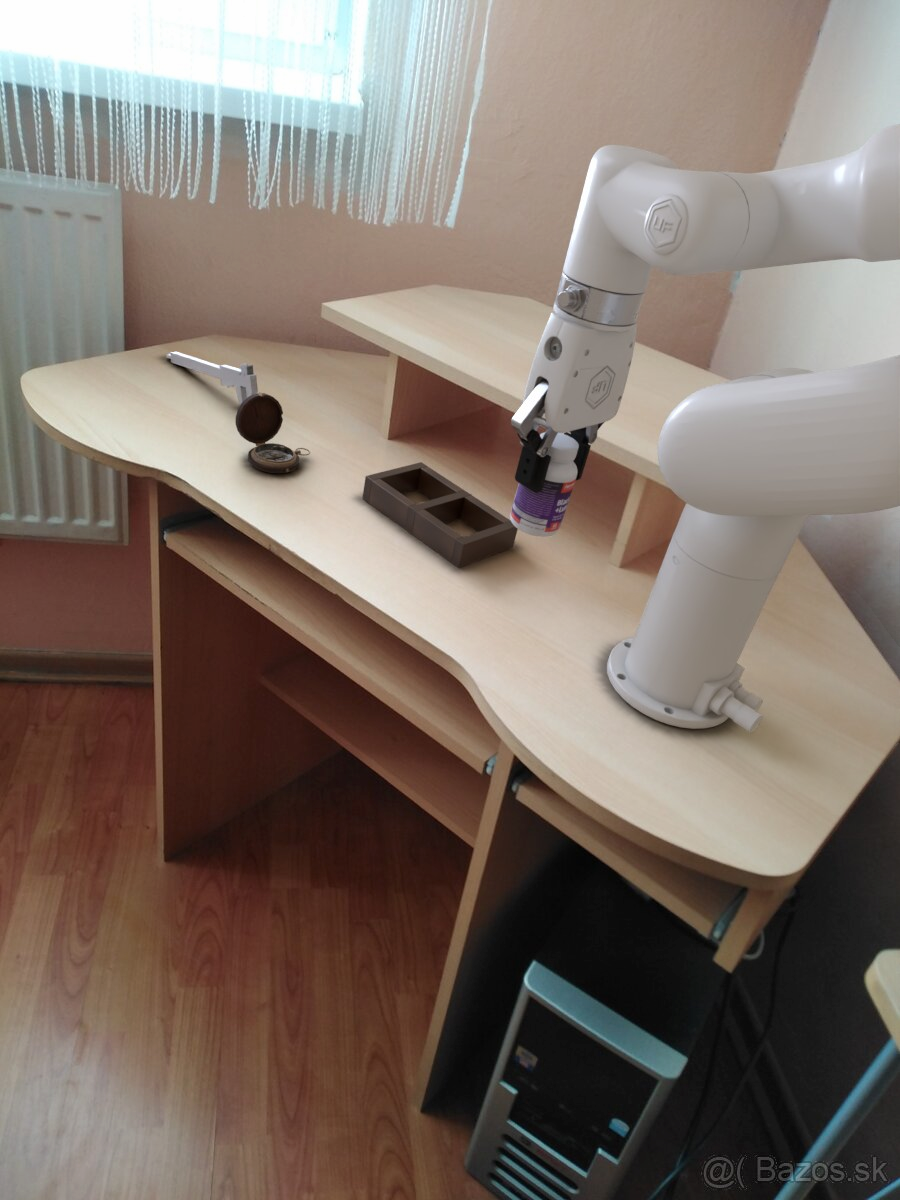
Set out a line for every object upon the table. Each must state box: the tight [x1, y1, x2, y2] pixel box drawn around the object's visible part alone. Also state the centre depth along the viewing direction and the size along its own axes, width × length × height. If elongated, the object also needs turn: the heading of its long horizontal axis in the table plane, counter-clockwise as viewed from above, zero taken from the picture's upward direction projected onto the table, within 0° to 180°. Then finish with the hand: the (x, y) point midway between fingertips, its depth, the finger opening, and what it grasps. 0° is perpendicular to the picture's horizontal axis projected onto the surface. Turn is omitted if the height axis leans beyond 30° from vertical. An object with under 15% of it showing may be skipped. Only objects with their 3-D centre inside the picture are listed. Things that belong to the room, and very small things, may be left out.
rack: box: [362, 461, 519, 569], centre depth 103 cm, size 17×9×3 cm, turn 44°
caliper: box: [165, 351, 259, 406], centre depth 121 cm, size 20×1×6 cm, turn 47°
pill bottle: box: [509, 431, 579, 538], centre depth 90 cm, size 5×5×10 cm
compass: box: [235, 391, 311, 474], centre depth 107 cm, size 8×8×7 cm
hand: (548, 478), depth 90 cm, fingers closed on pill bottle, 5 cm apart
